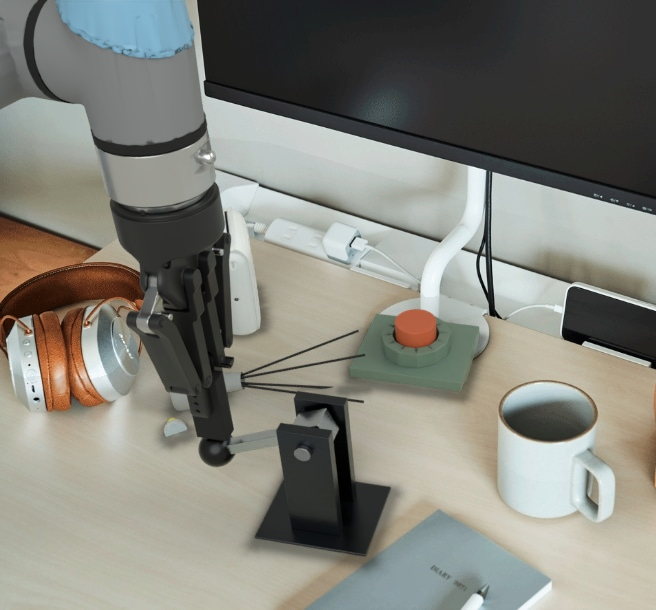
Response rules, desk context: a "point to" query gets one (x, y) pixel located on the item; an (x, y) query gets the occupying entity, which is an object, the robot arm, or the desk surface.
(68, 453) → the desk surface
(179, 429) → the reed diffuser
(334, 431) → the tap lever
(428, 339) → the button
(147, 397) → the desk surface
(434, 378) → the button block
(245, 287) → the photo printer
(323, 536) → the bracket
